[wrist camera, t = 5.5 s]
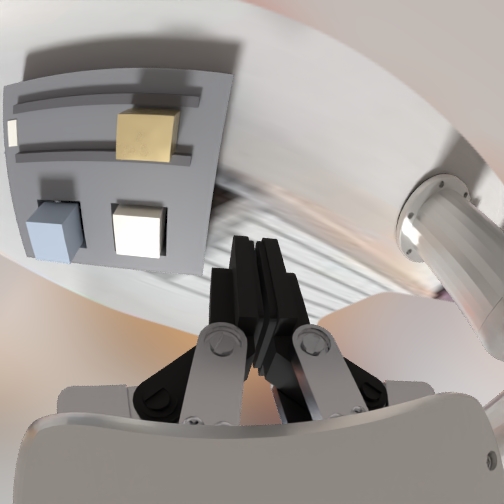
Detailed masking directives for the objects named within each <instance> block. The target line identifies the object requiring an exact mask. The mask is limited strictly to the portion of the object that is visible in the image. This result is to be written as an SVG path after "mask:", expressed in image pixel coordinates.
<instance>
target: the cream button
mask: <svg viewBox="0 0 504 504" xmlns="http://www.w3.org/2000/svg"><path fill="white" fill-rule="evenodd" d="M165 215H166V207H157V206H145V205H131V204H119V205H118V207H117V209H116V210H115V212H114V214H113V223H114V234H115V244H116V253H117V254H120V255H131V256H141V257H152V258H160V254H161V249H162V245H163V241H164V237H165Z"/></svg>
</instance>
